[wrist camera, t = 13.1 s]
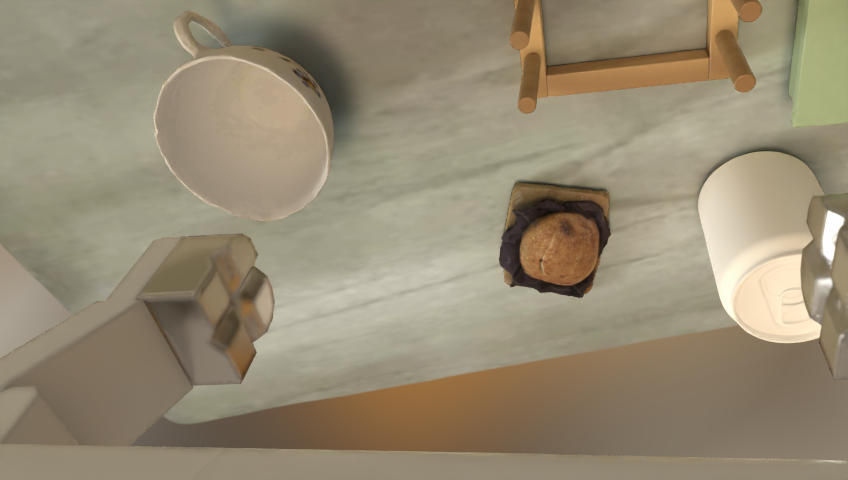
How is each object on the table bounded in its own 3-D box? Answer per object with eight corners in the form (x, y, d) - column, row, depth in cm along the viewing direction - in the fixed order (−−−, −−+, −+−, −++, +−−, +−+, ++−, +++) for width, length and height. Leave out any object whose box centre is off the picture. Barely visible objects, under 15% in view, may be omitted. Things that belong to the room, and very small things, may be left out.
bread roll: (509, 176, 55) (505, 202, 52) (618, 190, 54) (620, 217, 51) (496, 280, 61) (492, 308, 58) (594, 294, 60) (594, 323, 57)
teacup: (385, 140, 54) (360, 195, 48) (258, 184, 59) (219, 240, 53) (286, -46, 47) (241, -10, 41) (150, 22, 52) (91, 63, 46)
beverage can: (808, 132, 48) (865, 233, 39) (821, 225, 52) (875, 336, 43) (686, 163, 51) (711, 264, 42) (707, 248, 55) (734, 357, 46)
